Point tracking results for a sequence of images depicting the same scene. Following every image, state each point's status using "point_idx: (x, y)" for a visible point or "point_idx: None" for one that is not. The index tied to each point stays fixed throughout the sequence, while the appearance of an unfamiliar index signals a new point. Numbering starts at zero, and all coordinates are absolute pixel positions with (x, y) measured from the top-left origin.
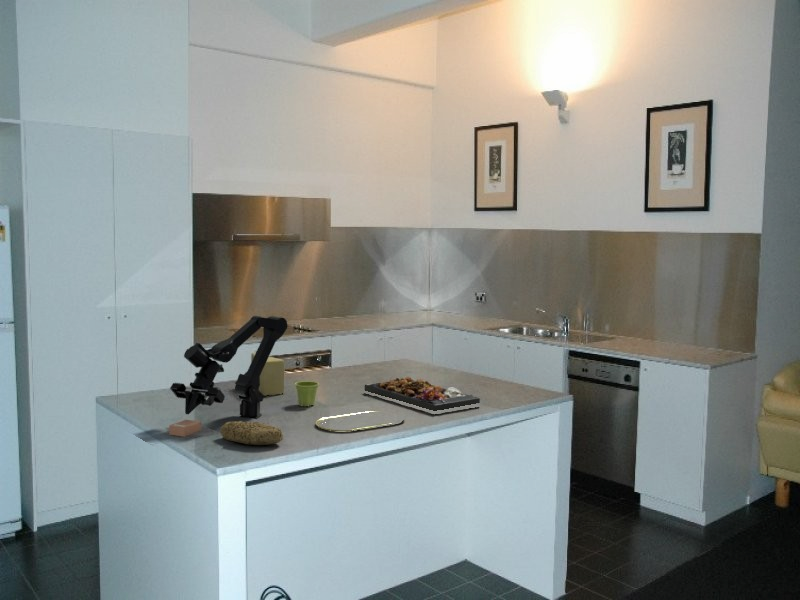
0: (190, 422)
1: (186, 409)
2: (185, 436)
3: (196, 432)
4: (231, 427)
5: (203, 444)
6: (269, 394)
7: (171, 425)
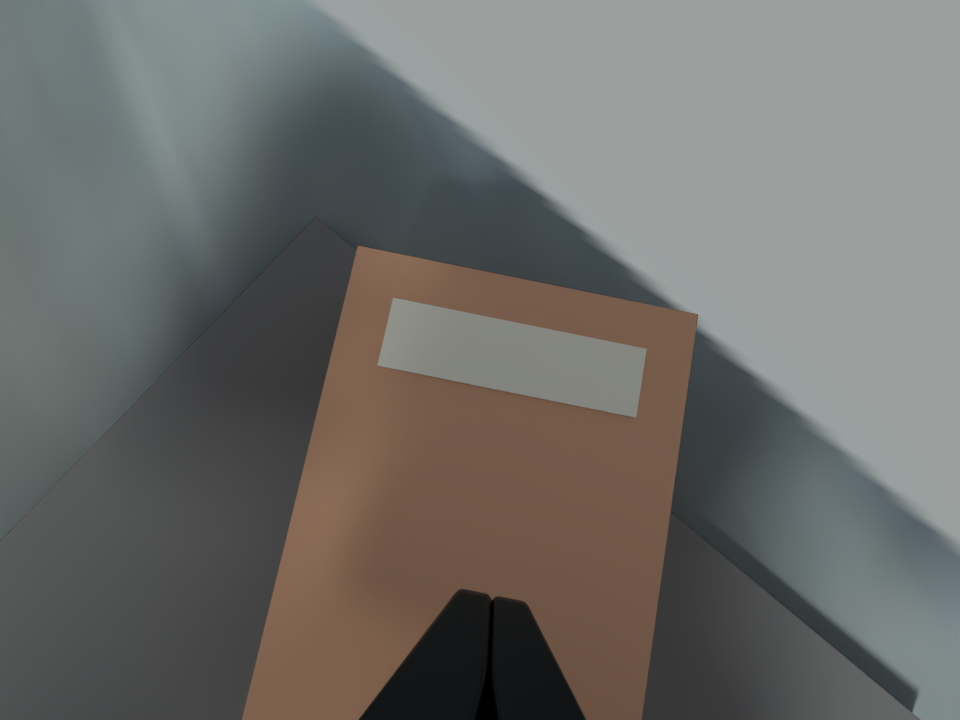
0: None
1: (506, 647)
2: None
3: None
4: None
5: (3, 98)
6: None
7: (663, 328)
